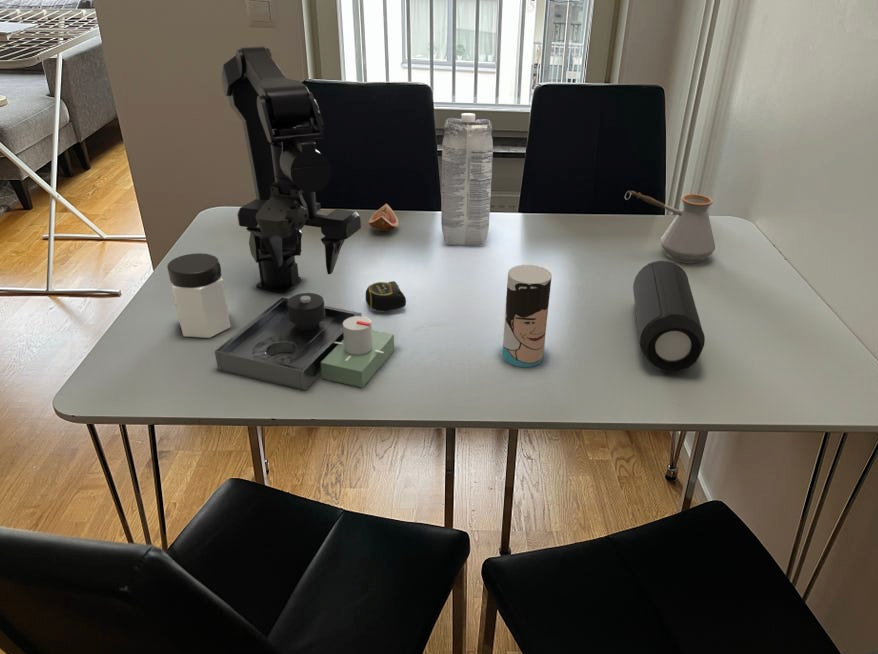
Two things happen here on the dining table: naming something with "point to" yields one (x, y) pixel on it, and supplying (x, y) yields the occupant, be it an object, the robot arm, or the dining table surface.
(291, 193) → the robot arm
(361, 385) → the panel
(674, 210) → the coffee pot
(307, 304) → the stopper
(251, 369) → the grey metal tray
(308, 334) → the sink
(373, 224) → the fruit slice
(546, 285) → the cup
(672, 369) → the portable speaker
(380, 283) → the tape measure
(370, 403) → the dining table surface
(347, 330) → the tap knob
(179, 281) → the jar
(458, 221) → the juice carton
